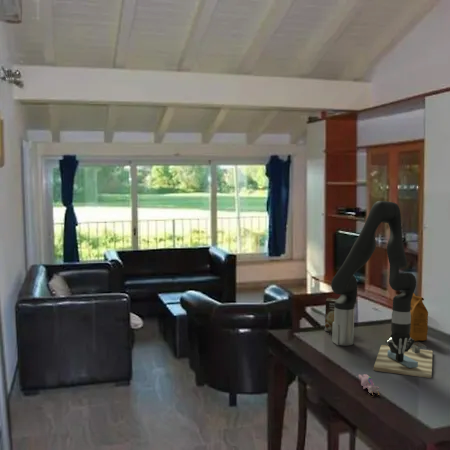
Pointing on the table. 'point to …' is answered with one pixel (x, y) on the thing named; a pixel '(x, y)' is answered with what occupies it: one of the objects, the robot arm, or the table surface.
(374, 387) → the rabbit figure
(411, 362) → the link
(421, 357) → the pivot board
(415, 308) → the coffee package
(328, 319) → the coffee box
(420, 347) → the block
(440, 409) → the table surface
